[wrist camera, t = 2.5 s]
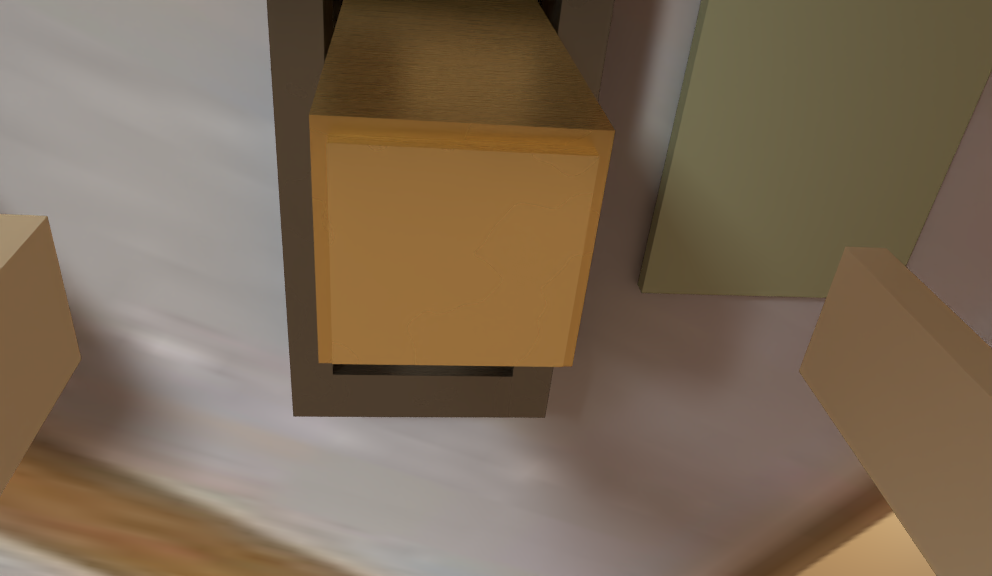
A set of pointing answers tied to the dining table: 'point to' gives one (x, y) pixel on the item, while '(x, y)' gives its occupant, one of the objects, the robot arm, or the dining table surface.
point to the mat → (810, 139)
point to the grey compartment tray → (315, 386)
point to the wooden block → (453, 186)
